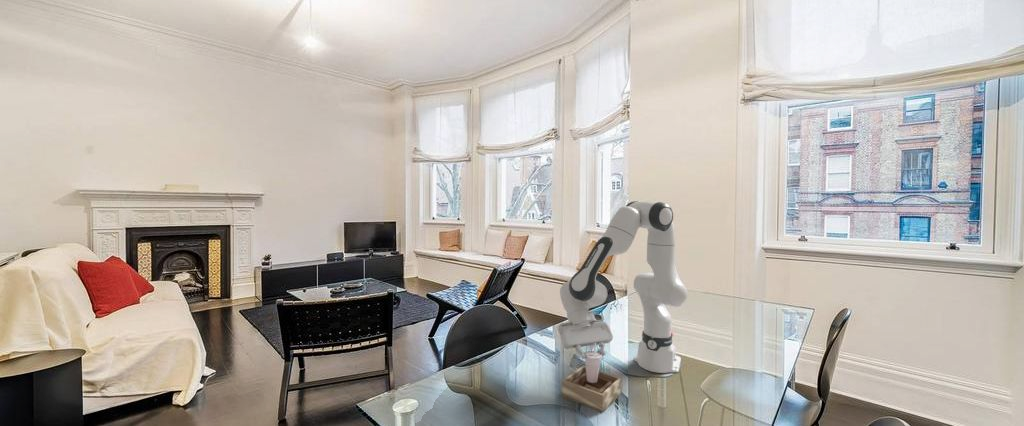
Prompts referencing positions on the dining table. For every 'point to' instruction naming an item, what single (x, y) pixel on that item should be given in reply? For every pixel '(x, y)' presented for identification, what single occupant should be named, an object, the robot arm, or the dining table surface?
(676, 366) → the robot arm
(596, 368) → the smoothie
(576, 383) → the open wooden box
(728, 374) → the dining table surface
